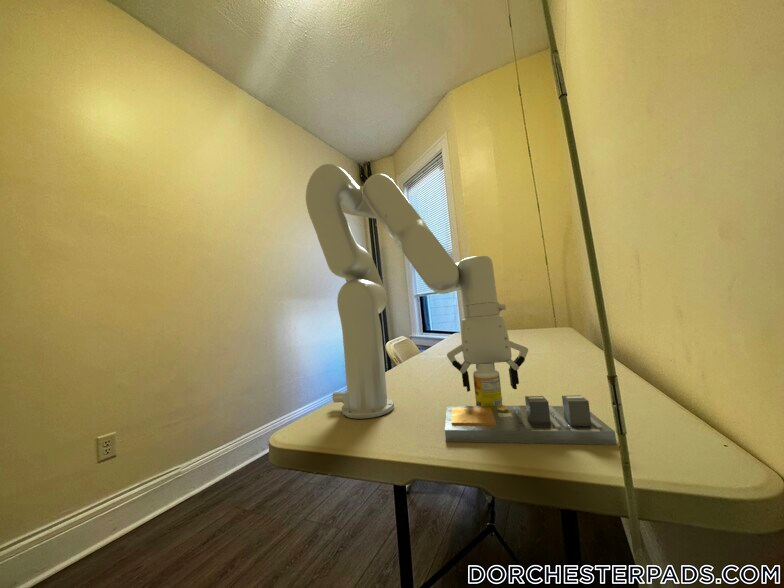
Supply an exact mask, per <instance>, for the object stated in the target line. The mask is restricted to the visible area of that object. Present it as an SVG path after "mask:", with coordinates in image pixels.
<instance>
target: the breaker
mask: <svg viewBox="0 0 784 588" xmlns="http://www.w3.org/2000/svg"><path fill="white" fill-rule="evenodd" d="M561 400H562V405H563V411H564V419H565V420H566V421H567V422H568V423H569V424H570V425H571V426H591V417H590V412H591V411H590V402H589V400H588V399H586V397H584V396H583V395H581V394H578V395H574V394H573V395H561Z"/></svg>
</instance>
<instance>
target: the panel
mask: <svg viewBox="0 0 784 588" xmlns="http://www.w3.org/2000/svg"><path fill="white" fill-rule="evenodd" d="M524 398H525V399H524V400H525V401H524V402H525V405H503V404H502V405H499V406H476V405H456V406H455V405H451V406H450V405H447V406H446V411H445V421H444V423H445V425H444V435H445V443H487V444H488V443H495V444H501V443H502V444H549V445H550V444H556V445H559V444H561V445H611V446H612V445H614V446H615V445H617V438H616V431H615V430H614V429H612V428H611V427H610V426H609V425H607V424H606V423H605V422H604V421H602V420H601V419H600V418H599V417H597V416H596V415H595V414H593V413H592V412H591V411H590V417H591V426H571V425H570V424H569V423H568V422H567V421H566V420H565V419H564V411H563V404H557V405H556V404H553V405H549V401H548V400H547V399H546V397H545V396H543V395H540V396H539V395H533V396H532V395H529V396H528V395H527V396H526V395H525V396H524Z"/></svg>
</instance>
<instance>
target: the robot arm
mask: <svg viewBox="0 0 784 588" xmlns="http://www.w3.org/2000/svg"><path fill="white" fill-rule="evenodd" d="M305 204H306V205H305V206H306V208H307V209H306V210H307V212H308V216H309V218H310V221H311V223H312V226H313V228H314V231H315V234H316V236H317V240H318V242H319V244H320V248H321V251H322V253H323V255H324V258H325V259H324V260H325V261H326V264H327V267H328V269H329V270H330V272H331V273H332V274H333V275H335V276H337V277H339V278H343V279H345V281H346V282H345V283H344V284H342V286H341V288H339V291H338V294H337V301H336V303H337V310H338V311H337V312H338V315H339V319H340V325H341V333H342V343H343V344H342V345H343V354H344V355H343V356H344V368H345V371H344V372H345V381H346V382H345V383H346V390H345V391H344V392H341V391H339V392H338V391H337V392H333V393H332V395H331V398H332V401H333V403H342V404H343V405H342V406H341V414H342V415H343V416H344V415H345V416H344V417H346V416H347V418H350V419H360V420H361V419H372V418H376V417H377V418H378V417H380V416H384V415H386V414H388V413H390V412H391V411H393V410H394V408H395V403H394V400H393V399H391V398H389V397H388V391H387V381H386V380H387V379H386V367H385V355H384V354H385V353H384V344H383V342H384V341H383V333H382V324H381V319H380V316H379V314H381V313H382V312H383V311H384V309H385V308H386V306H387V303H388V295H387V292H386V288H385V286H384V283H383V281H382V279H381V276H380V274H379V271H378V268H377V266H376V264H375V262H374V259H373V257H372V255H371V254H370V253H369V252H368V250H366V249H365V248H364V247H362V246H361V245H360V244H358V243H357V240H356V239H355V236H354V234H353V232H352V230H351V227H350V224H349V222H348V219H347V217H346V216H345V214H346V215H349V216H350V215H351V216H356V217H357V216H358V217H363V218H370V219H377V220H378V221H379V223H380V224H381V225H382V227H383V228H384V229H385V231H386V232H387V234H388V235H389V237H390V238H391V240H392V241H393V243H394V244H395V245H396V246H397V248H399V250H401V252H402V253H403V254H404V256H405V257H406V259H407V260H408V261H409V263H410V264H411V266H412V267H413V268H414V270H415V271H416V273H417V274H418V275H419V277H420V278H421V280H422V281H423V282H424V284H425V285H426V286H427V287H428V289H430V290H431V291H433V292H435V293H437V294H439V295H440V294H441V295H442V294H443V295H444V294H445V295H446V294H451V293H453V292H458V291H460V292H461V293H460V294H461V298H462V299H461V300H462V301H461V302H462V306H463V307H462V309H463V317H464V318H462V319H461V321H460V336H461V337H460V339H461V344H460V345H458V346H456V347H455V348H453V349H452V350H450V351H449V352H447V354H446V358H447V359H448V360H449V362H450V363H451V364H452V366H453V367H454V368H455V369H457V370H458V371H459V372H460V374H461V379H462V386H463V387H465V388H466V392H470V391H471V384H470V378H469V376H470V375H469V371H468V369H469V368H470V366H471V365H476V364H485V363H494V364H495V363H496V364H499V363H506V364H507V365H509V367H508V374H509V375H508V376H509V382H510V387H511V388H512V389H514V390H518V388H517V387H518V386H517V385H519V384H520V380H519V373H518V370H519V369H520V367H521V365H523V363H524V362H525V360H526V358H527V355H528V353H529V348H528V347H526V346H525V345H521V344H519V343H516V342H514V341H511V340H510V338H509V333H508V329H507V325H506V322H505V319H504V316H503V315H500V314H501V313H500V312H502V311H506V309H507V308H506V304H505V303H500V302H499V301H498V296H497V295H498V293H497V286H496V280H495V272H494V264H493V263H494V262H493V260H492V259H491V257H490V256H488V255H475V256H470V257H466V258H463V259H461V260H460V261H458V262H455V261H454V259H453V258H452V256H451V255H449V252H448V251H447V250H446V249H445V247H444V246H443V245H442V244H441V242H440V241H439V240H438V238H437V237H436V236H435V234H433V231H431V230H430V228H429V226H428V225H427V224H426V222H425V221H424V219H423V218H422V217H421V216H420V215H421V214H419V213H418V212H417V211H416V209H415V208H414V206H413V205H412V204H411V203H410V201H409V200H408V199H407V197H406V196H405V194H404V193H403V191H401V189H400V188H399V186H398V185H397V184H396V183H395V181H394V180H393V179H392V178H390V177H389V176H388V175H386V174H383V173H375V174H373V175H370V176H369V177H368V178H367V179H366V180H365V182H364V184H363V185H358V184H357V182H356V181H355V180H354V179H353V178H352V177H351V175H350V174H348V172H347V171H346V170H345V169H343V168H342V167H340V166H339V165H336V164H334V163H333V164H332V163H325V164H321V165H320V166H318V167H317V168H316V169H315V170H314V171H313V172H312V174H311V175H310V177H309V180H308V183H307V185H306V189H305ZM513 349H514V350H516V351H519V353H518V355H517V357H516V358H515V359H514V360H513V359H512V350H513ZM461 352H462V356H463V359H464V360H463V362H462V363H460V361H458V360H457V359H456V356H457V355H458V354H460V353H461Z"/></svg>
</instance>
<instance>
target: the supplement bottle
mask: <svg viewBox="0 0 784 588" xmlns="http://www.w3.org/2000/svg"><path fill="white" fill-rule="evenodd" d="M475 368H476V370H474V371H473V373H472V374H473V375H472V377H473V388H474V397H475V406H499V405H503V397H502V387H501V379H500V378H501V377H500V372H499V371H498V370H497V369H496V366H495V363H485V364H475Z"/></svg>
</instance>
